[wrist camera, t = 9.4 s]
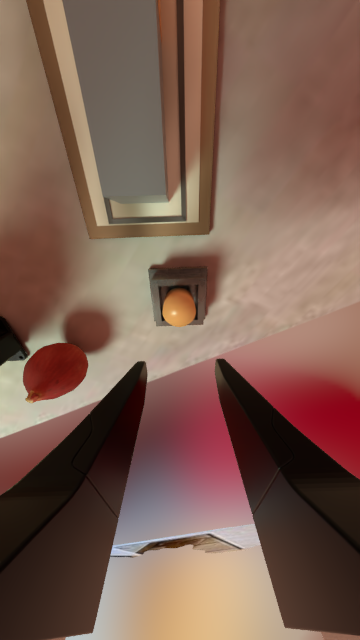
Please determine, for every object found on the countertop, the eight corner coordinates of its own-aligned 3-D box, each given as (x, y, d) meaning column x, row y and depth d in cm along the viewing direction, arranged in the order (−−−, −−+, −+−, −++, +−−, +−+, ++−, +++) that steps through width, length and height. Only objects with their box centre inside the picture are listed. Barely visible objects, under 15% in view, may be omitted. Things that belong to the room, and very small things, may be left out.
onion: (101, 364, 24) (70, 422, 17) (60, 363, 24) (11, 421, 17) (93, 330, 21) (52, 382, 14) (46, 328, 21) (-20, 380, 14)
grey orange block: (120, 204, 14) (101, 196, 10) (84, -18, 9) (25, -173, 6) (169, 202, 14) (166, 194, 11) (159, -20, 9) (147, -177, 6)
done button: (165, 315, 18) (163, 327, 16) (163, 288, 16) (161, 297, 14) (193, 314, 18) (195, 326, 16) (193, 287, 16) (196, 296, 14)
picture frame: (92, 238, 16) (88, 239, 15) (8, -86, 9) (-7, -114, 8) (208, 234, 16) (209, 234, 15) (222, -96, 9) (226, -124, 8)
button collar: (155, 319, 20) (152, 330, 18) (148, 268, 17) (144, 274, 15) (204, 317, 20) (207, 328, 18) (206, 266, 17) (210, 272, 15)
